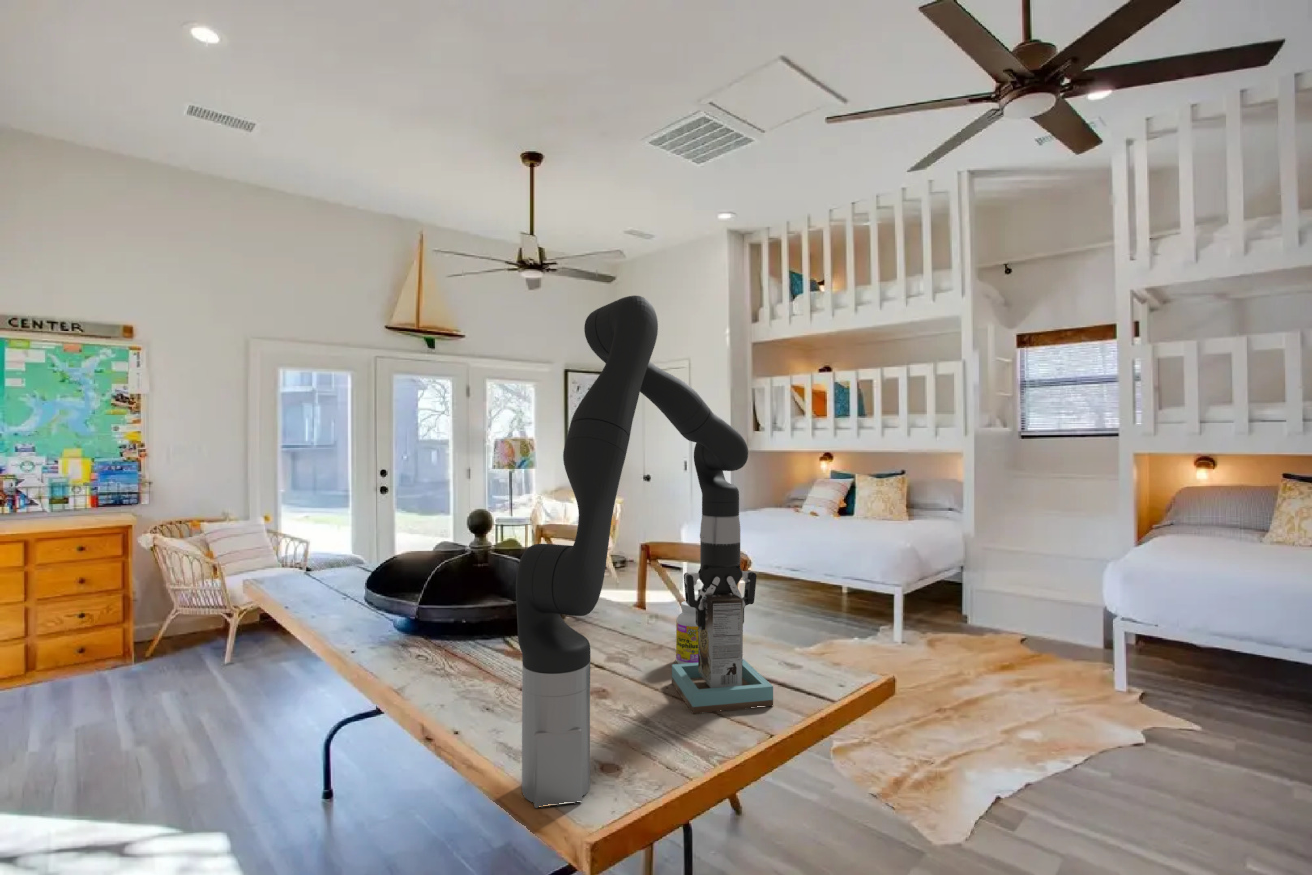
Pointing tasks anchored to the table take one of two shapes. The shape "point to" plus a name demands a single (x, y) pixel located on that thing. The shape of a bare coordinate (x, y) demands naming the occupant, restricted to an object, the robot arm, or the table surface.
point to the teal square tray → (721, 690)
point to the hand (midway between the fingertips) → (720, 627)
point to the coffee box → (721, 641)
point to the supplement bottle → (686, 635)
